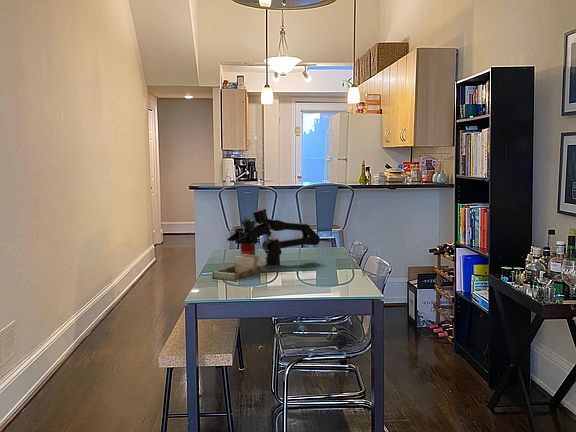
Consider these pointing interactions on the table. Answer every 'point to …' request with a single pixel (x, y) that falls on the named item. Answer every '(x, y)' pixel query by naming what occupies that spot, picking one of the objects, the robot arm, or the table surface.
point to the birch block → (247, 262)
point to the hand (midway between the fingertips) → (231, 241)
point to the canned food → (248, 249)
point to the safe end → (224, 276)
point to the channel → (241, 274)
